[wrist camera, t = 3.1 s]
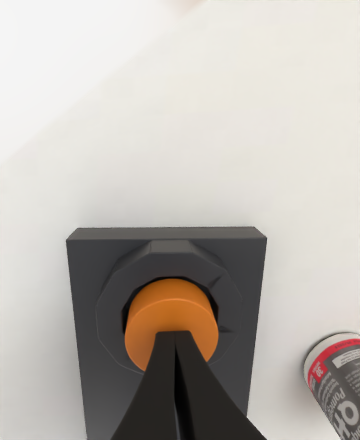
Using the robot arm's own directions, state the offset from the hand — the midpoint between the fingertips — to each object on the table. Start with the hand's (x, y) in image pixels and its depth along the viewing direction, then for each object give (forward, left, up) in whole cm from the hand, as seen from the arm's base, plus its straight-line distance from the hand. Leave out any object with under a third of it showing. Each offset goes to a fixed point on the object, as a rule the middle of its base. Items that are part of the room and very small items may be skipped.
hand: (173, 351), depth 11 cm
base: (-3, -3, -6) cm, 7 cm away
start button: (0, 0, -2) cm, 2 cm away
